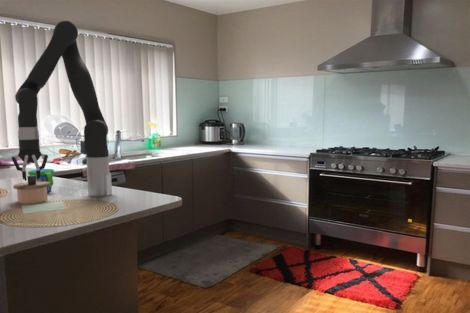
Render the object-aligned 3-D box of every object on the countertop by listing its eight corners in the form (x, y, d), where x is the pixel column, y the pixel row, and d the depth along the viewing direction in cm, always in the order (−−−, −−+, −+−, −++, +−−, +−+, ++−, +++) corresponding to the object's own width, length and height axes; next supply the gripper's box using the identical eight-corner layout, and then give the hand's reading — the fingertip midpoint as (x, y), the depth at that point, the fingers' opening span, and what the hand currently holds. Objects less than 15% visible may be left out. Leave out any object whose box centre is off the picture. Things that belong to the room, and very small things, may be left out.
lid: (56, 183, 177) (55, 173, 177) (39, 189, 164) (39, 178, 163) (25, 183, 178) (24, 173, 178) (6, 189, 164) (5, 178, 164)
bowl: (52, 199, 177) (51, 183, 176) (39, 204, 166) (38, 188, 165) (27, 199, 177) (26, 183, 177) (12, 204, 166) (11, 188, 166)
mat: (67, 210, 156) (67, 208, 156) (23, 215, 149) (23, 213, 149) (62, 202, 169) (62, 201, 169) (21, 207, 162) (21, 205, 162)
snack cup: (24, 191, 194) (22, 169, 193) (46, 188, 202) (45, 167, 201) (37, 195, 184) (36, 173, 183) (61, 192, 191) (59, 170, 190)
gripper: (47, 137, 175) (49, 177, 177) (9, 138, 169) (12, 180, 171) (48, 138, 169) (51, 179, 170) (8, 139, 162) (11, 182, 164)
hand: (31, 179), depth 171 cm, fingers open, 4 cm apart
